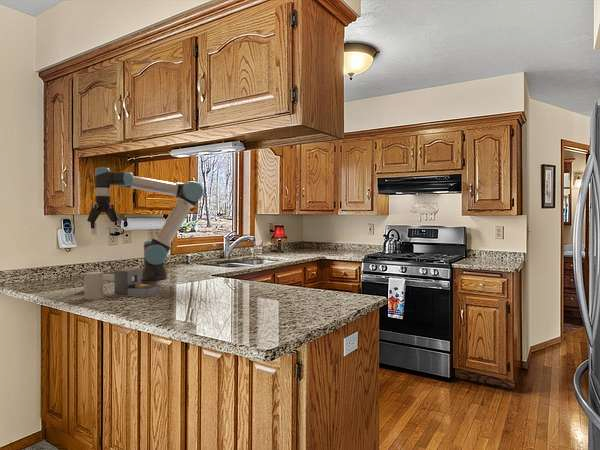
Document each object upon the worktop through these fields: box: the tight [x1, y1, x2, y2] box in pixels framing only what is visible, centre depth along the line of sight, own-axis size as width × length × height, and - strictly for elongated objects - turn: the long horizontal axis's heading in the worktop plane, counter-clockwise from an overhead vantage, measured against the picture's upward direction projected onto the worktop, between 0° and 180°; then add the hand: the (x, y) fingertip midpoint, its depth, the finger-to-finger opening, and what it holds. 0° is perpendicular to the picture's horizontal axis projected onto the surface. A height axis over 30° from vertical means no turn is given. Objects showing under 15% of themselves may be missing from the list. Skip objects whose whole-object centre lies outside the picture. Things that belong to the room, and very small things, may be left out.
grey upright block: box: [83, 271, 104, 300], centre depth 203 cm, size 8×8×12 cm
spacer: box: [135, 283, 149, 289], centre depth 212 cm, size 5×4×4 cm
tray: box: [127, 285, 161, 298], centre depth 211 cm, size 10×11×4 cm
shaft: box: [83, 270, 135, 282], centre depth 218 cm, size 4×29×9 cm, turn 72°
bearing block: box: [113, 267, 142, 297], centre depth 214 cm, size 10×8×12 cm
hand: (103, 233), depth 237 cm, fingers open, 13 cm apart
